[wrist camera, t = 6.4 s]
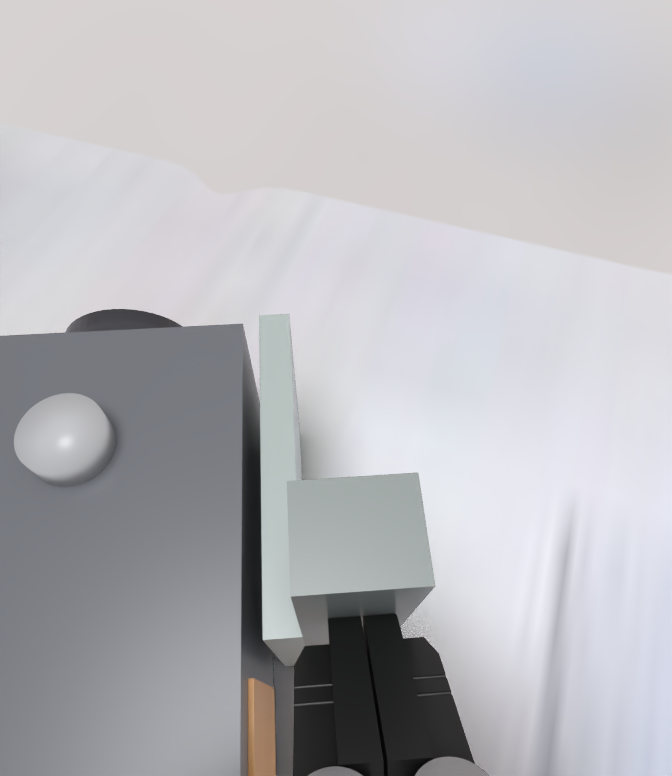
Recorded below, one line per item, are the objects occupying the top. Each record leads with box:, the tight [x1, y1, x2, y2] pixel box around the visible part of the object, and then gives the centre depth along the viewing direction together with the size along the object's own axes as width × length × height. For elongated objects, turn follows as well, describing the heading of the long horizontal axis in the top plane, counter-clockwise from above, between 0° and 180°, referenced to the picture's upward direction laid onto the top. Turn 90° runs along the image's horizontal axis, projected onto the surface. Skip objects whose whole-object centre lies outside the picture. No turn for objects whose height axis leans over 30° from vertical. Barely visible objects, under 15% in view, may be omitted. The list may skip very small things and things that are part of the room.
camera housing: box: [0, 309, 276, 776], centre depth 18 cm, size 22×10×11 cm, turn 4°
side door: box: [259, 314, 435, 666], centre depth 19 cm, size 10×3×15 cm, turn 4°
